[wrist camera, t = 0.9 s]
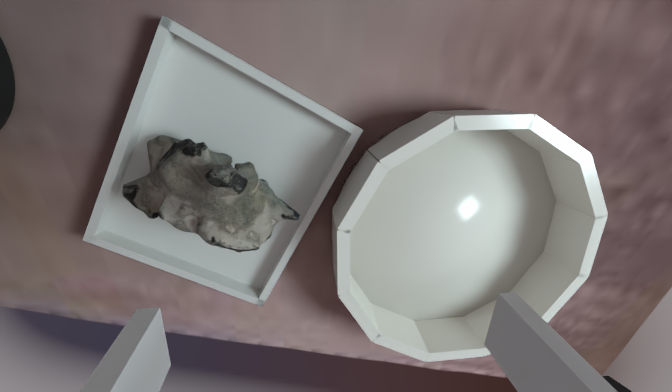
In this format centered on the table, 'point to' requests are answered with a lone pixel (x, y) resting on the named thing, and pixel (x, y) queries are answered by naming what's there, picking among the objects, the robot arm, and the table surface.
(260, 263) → the tray
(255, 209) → the decorative stone
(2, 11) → the table surface
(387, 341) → the bowl
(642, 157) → the table surface
